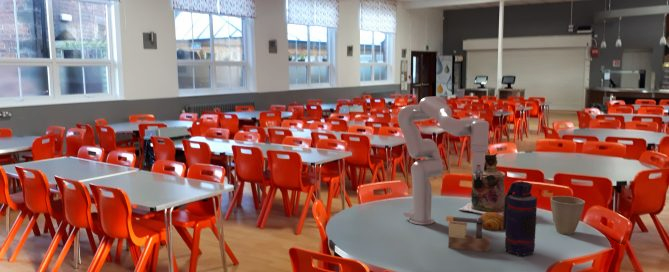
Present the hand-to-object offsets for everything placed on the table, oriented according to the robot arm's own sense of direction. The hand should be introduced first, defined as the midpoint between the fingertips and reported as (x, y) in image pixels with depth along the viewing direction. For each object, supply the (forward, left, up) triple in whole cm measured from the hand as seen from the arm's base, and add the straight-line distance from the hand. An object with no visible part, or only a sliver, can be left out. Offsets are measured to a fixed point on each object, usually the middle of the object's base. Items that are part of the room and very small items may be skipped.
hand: (478, 185), depth 237 cm
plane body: (-2, -12, -25) cm, 28 cm away
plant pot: (+40, +25, -25) cm, 53 cm away
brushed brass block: (-7, -12, -20) cm, 25 cm away
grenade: (+18, -10, -25) cm, 33 cm away
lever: (-4, -12, -13) cm, 19 cm away
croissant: (+7, +24, -25) cm, 35 cm away
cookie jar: (+3, +55, -25) cm, 60 cm away
